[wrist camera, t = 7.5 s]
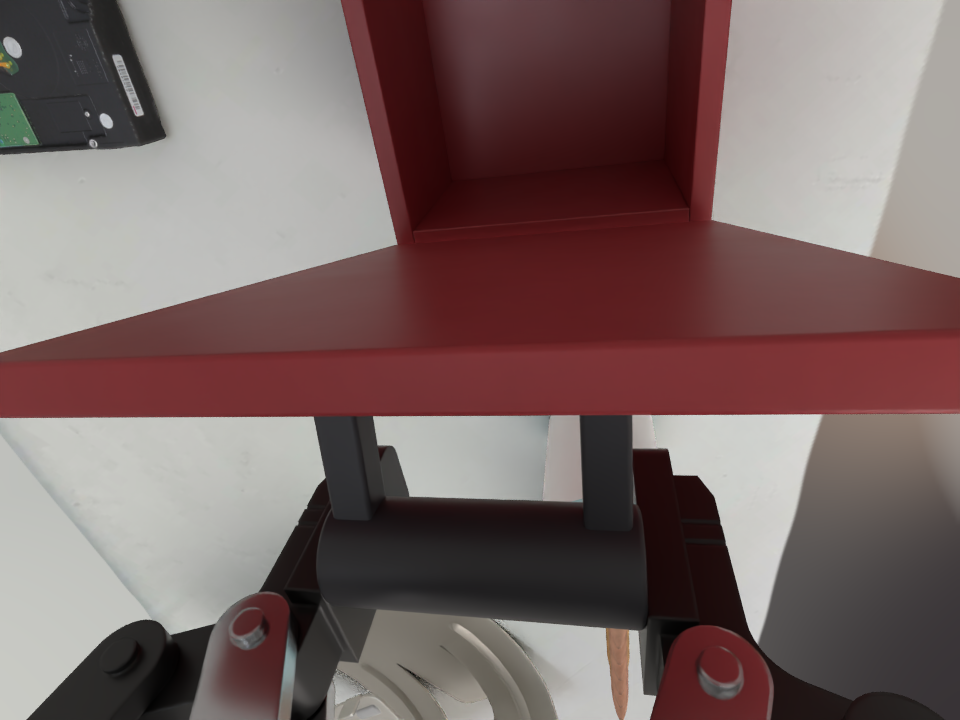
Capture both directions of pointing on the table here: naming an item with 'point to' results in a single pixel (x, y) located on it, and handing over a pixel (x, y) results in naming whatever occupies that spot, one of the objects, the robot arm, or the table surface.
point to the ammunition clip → (618, 667)
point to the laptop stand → (442, 670)
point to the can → (579, 455)
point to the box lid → (517, 385)
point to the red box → (541, 112)
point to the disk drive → (71, 79)
